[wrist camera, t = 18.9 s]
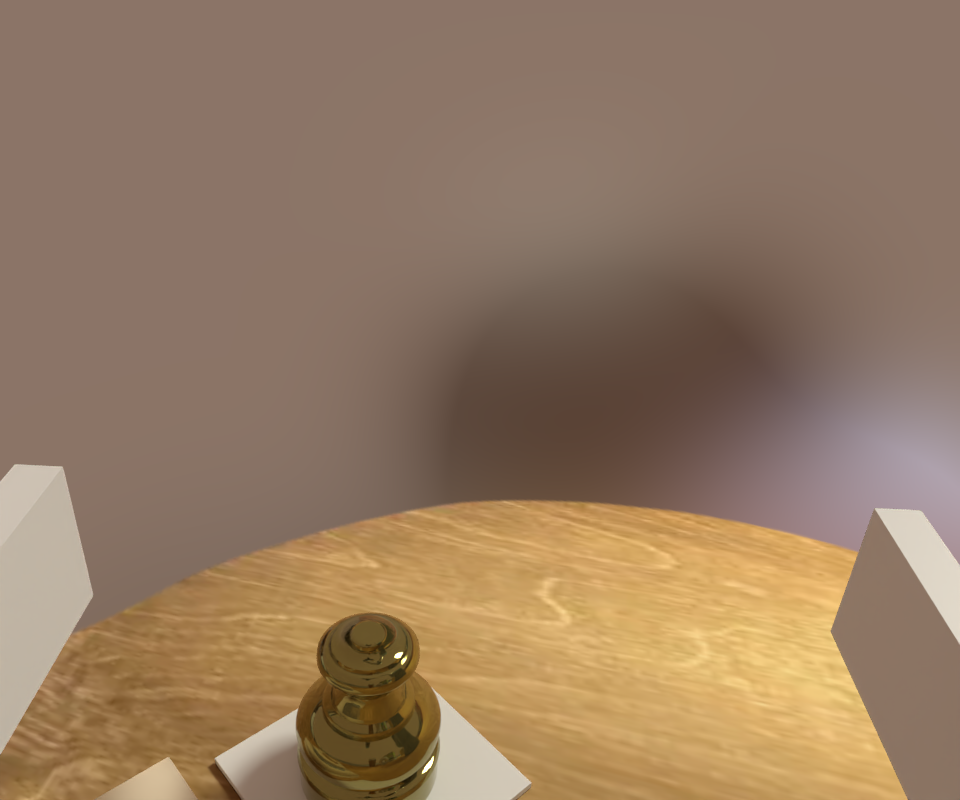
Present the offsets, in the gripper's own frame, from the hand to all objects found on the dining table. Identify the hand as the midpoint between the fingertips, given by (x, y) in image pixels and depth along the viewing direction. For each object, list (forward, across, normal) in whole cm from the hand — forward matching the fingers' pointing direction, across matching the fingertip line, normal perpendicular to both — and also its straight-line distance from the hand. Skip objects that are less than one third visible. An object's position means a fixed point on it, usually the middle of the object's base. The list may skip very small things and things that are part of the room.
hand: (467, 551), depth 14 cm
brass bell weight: (+18, -4, -31) cm, 36 cm away
